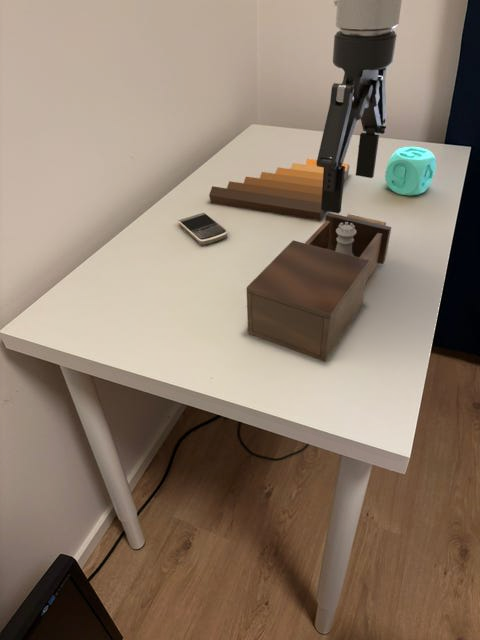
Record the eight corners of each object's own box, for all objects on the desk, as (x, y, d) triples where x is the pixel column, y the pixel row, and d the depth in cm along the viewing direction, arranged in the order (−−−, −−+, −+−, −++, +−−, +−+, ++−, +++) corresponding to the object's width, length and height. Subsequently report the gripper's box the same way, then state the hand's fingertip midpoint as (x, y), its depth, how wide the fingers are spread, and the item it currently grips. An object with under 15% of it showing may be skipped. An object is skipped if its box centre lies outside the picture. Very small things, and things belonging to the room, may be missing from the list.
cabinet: (291, 283, 83) (292, 239, 77) (362, 305, 77) (369, 260, 72) (247, 333, 73) (246, 287, 68) (325, 362, 68) (330, 314, 62)
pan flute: (209, 203, 107) (319, 222, 99) (208, 189, 105) (321, 207, 97) (252, 162, 124) (348, 174, 116) (251, 149, 122) (350, 161, 114)
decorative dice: (431, 186, 110) (439, 151, 104) (415, 199, 105) (423, 163, 100) (399, 177, 114) (405, 143, 109) (382, 189, 109) (387, 154, 104)
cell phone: (202, 248, 93) (201, 241, 92) (176, 225, 100) (176, 219, 99) (229, 238, 95) (229, 232, 94) (203, 216, 102) (202, 210, 101)
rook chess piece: (325, 272, 81) (329, 230, 76) (331, 259, 84) (335, 217, 79) (352, 277, 80) (358, 234, 75) (357, 263, 83) (363, 221, 78)
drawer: (335, 233, 93) (339, 201, 89) (394, 248, 89) (400, 214, 84) (292, 282, 81) (294, 247, 77) (357, 302, 77) (363, 266, 72)
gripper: (370, 14, 69) (355, 160, 83) (293, 47, 53) (288, 222, 66) (424, 15, 66) (398, 167, 79) (358, 51, 50) (340, 234, 63)
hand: (348, 192), depth 73 cm, fingers open, 13 cm apart
